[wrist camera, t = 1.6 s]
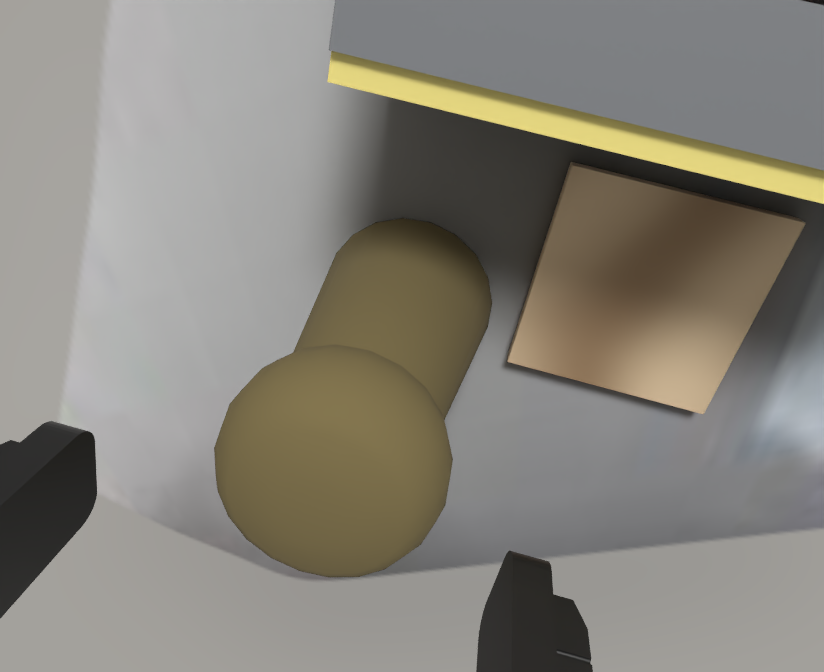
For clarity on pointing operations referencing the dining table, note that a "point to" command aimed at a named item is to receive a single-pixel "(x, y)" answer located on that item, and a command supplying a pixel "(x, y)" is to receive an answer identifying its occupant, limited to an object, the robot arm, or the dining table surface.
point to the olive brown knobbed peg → (358, 406)
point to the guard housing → (612, 76)
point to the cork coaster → (648, 286)
